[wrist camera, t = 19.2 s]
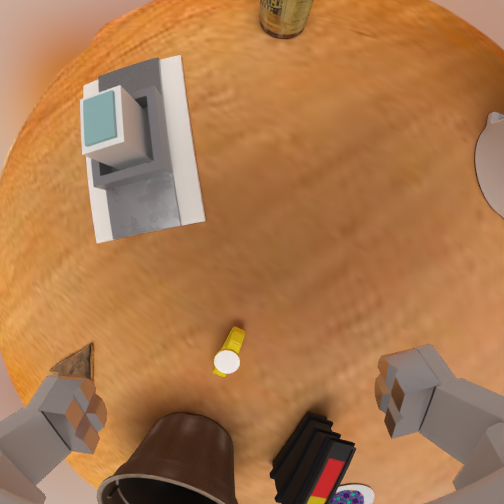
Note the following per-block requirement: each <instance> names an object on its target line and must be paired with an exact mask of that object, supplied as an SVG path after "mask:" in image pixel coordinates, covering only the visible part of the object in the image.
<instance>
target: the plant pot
mask: <svg viewBox="0 0 504 504" xmlns="http://www.w3.org/2000/svg"><path fill="white" fill-rule="evenodd" d="M233 453H234V451H233V444H232V441H231V438H230V437H229V435H228V434H227V433H226V431H225V430H224V429H223V428H222V427H221V426H219V425H218V424H217V423H215V422H214V421H212V420H210V419H208V418H206V417H204V416H201V415H189V414H186V413H174V414H170V415H168V416H165V417H163V418H161V419H160V420H159V421H158V422H157V423H156V424H155V425H154V426H153V427H152V429H151V430H150V432H149V433H148V434H147V436H146V437H145V438H144V440H143V441H142V443H141V444H140V445H139V447H138V448H137V449H136V451H135V452H134V453H133V454H132V456H131V457H130V458H129V460H128V461H127V462H126V463H124V464H123V465H121V466H120V467H119V468H118V470H117V471H116V472H115V473H114V475H113V476H110V477H108V478H107V479H105V480H104V481H103V482H102V483H101V485H100V486H99V488H98V491H97V501H98V504H238V502H237V499H236V497H235V484H234V457H233Z"/></svg>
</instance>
